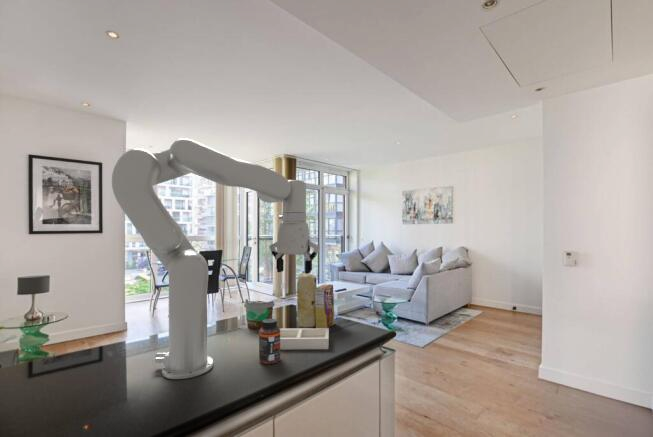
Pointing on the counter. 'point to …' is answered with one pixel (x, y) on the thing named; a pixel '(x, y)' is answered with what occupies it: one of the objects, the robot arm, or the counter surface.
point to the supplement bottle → (269, 342)
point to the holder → (304, 338)
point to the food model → (306, 300)
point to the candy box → (324, 306)
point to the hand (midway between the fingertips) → (294, 272)
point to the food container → (258, 313)
